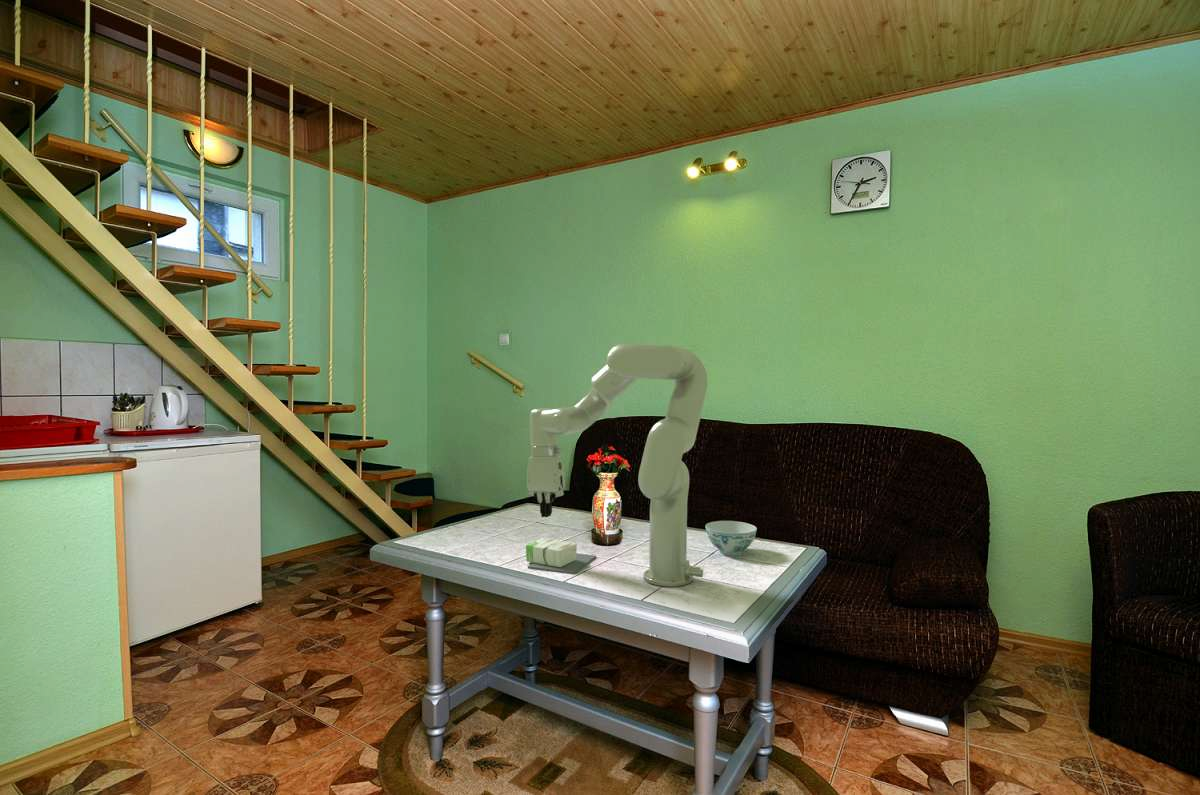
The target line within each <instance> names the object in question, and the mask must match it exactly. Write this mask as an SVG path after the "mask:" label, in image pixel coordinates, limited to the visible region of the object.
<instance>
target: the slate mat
mask: <svg viewBox="0 0 1200 795" xmlns="http://www.w3.org/2000/svg"><path fill="white" fill-rule="evenodd" d="M596 558H597V555H594V554H586V553H585V554H584V553H577V552H576V560H575V561H573V562H571V563H568V564H566V565H564V566H562V567H555V566H549V565H544V564H538V563H532V562H531V564H529V565H528V566H527V569H531V570H532V569H533V570H540V571H545V572H555V573H564V574H570V573H571V574H572V575H576V574H577V573H578V572H580V571H581V570H582V569H583V568H585V566H587V565H588V564H590V563H591V562H592V561H594V560H595V559H596Z"/></svg>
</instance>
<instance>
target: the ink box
mask: <svg viewBox="0 0 1200 795" xmlns="http://www.w3.org/2000/svg"><path fill="white" fill-rule="evenodd" d="M577 546H578V545H577V543H576V542H575V543H574V542H568V541H563V540H562V541H561V540H555V539H550V538H543V537H542V538H540V539H538V540H535V541H534V542H531V543H528V544H526V546H525V555H526V556H525V557H526V558H525V559H526V562H529V563H531V564H532V563H538V564H544V565H549V566H555V567H562V566H564V565H566V564H568V563H571V562H573V561H575V560H576V553H577V551H578V550H577V549H578V548H577Z"/></svg>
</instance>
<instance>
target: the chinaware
mask: <svg viewBox="0 0 1200 795" xmlns="http://www.w3.org/2000/svg"><path fill="white" fill-rule="evenodd" d="M757 530H758V528H757V527H756V526H755V525H753V524H750V523H747V522H743V521H735V520H717V521H711V522H708V523H706V524H705V532H706V534H707V538H708V539H709V541H710V543H711V544H712V545H713V546H714V547H715V548H717V549H718V551H719V553H720V554H722V555H725V556H734V557H735V556H740V555H742V554H743V551H744V550H746V549H747V548H749V547H750V545H751V544H752V543H753V542H754V540H755V537H756V534H757Z"/></svg>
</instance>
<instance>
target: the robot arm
mask: <svg viewBox="0 0 1200 795" xmlns="http://www.w3.org/2000/svg"><path fill="white" fill-rule="evenodd" d="M606 356H607V357H606V365H604V366H603V367H602V368H601V369H599V370H598V372H597V373H595V374H594V375H593V376H592V377H591V379H590V385H591V388H590V391H589V392H588V393H587V395H585V397H583V398H582V399H581V400H580V401H579V402H578V403H577V404H575V405H574V406H566V407H557V408H550V407H549V408H535V409H532V410H531V411H530V414H529V426H530V427H529V430H530V431H529V432H530V456H529V457H528V463H527V469H526V470H527V472H526V486H527V487H526V488H527V495H529V496H531V497H534V498H535V499H536V500H537V502H538V503H539V511H540V512H539V513H540V517H541V518H549V517H550V516H552V513H553V503H552V502H554V500H555V499H556V498H558V497H562V496H564V495H565V494H564V489H565V486H566V485H565V474H564V468H563V462H562V457H561V456H560V455H559V454H560V453H562V447H559V446H558V436H566V435H571V434H578V433H582V432H584V431H585V430H587V429H588V428H589V427H591V426H592V425H593V424H594V423H595V422H596V421H598V420H599V419H600V418H602V416H603V415H604V414H605V413H607V410H608V409H609V407H611V405H612V403H613V402H614V401H615V400H616V399H617V398H618V397H619V396H621V394H623V393H624V392H625V391H627V389H629V388H630V387H631V386H632V385H633V384H634V383H635V382H636V381H638V380H639V379H647V380H663V381H674V387H673V391H672V393H671V395H670V398H669V402H668V407H667V412H666V415H665V417H664V418H663V419H660V420H658V421H657V422H656V423H655V424H653V426H652V427H651V429H650V430H649V433H648V435H647V438H646V442H645V446H644V449H643V450H644V451H643V454H642V458H641V463H640V466H639V471H638V475H637V476H638V479H637V482H638V483H637V484H638V487H639V490H640V491H641V493H642V494H643V495H644V497H646V498H648V499H649V500H650V504H649V569H646V570H645V571H644V572H643V579H644V580H645V581H646V582H647V583H649V584H652V585H655V586H660V587H669V588H670V587H671V588H672V587H682V586H686V585H688V584H691V582H693V577H697V578H703V577H704V569H701V567H700V566H692V565H691V564H690V560H689V559H688V560H687V556H688V554H687V550H688V549H687V541H688V540H687V539H688V538H687V537H688V536H687V535H688V534H687V533H688V532H687V530H688V528H687V526H688V523H687V522H688V499H689V498H688V496H689V488H690V472H689V469H688V467H687V465H686V464H685V462H684V461H682V459H683V455H684V454H685V453H687V452H689V451H690V450H691V449H692V448H693V446H694V444H695V442H696V438H697V433H698V429H699V425H700V422H701V421H700V420H701V418H702V412H703V408H704V403H705V399H706V395H707V391H708V383H709V382H708V374H707V370H706V367H705V364H703V362H702V361H701V359H700V358H699V356H697V355H696V354H695V353H694V352H692V351H691V350H689V349H687V348H685V347H681V346H677V345H676V346H675V345H670V344H669V345H668V344H648V343H647V344H646V343H645V344H641V343H640V344H639V343H625V342H624V343H623V342H622V343H618V344H617V345H614V346H613V347H612V348H611V349H610V351H609V352H608V354H607V355H606Z"/></svg>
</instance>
